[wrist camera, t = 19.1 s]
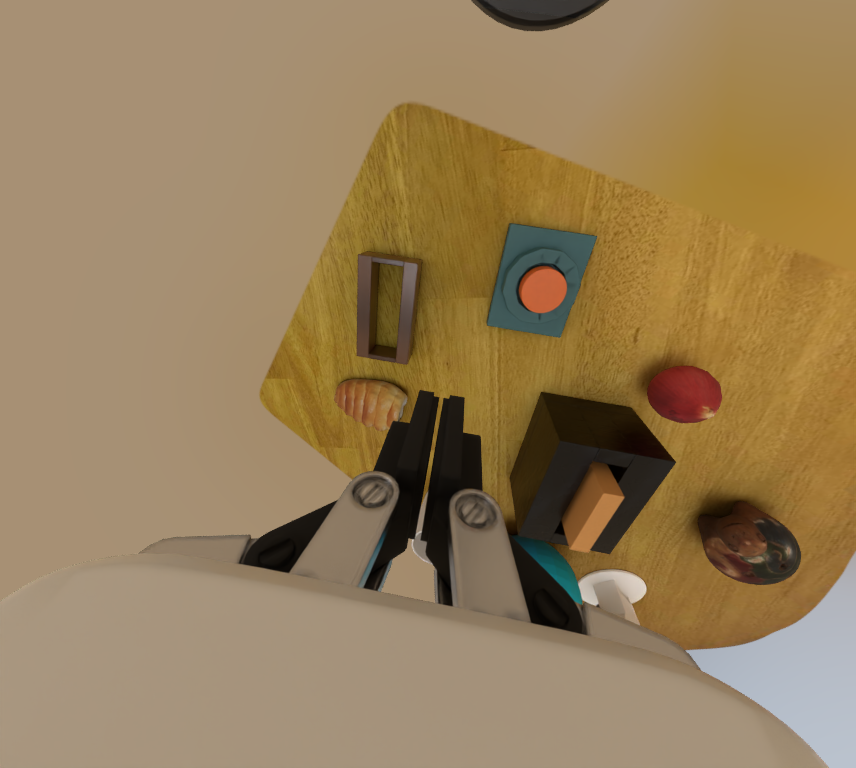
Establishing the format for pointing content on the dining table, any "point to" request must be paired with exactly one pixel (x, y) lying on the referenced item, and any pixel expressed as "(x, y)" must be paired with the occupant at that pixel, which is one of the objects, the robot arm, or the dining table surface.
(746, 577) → the brown mottled ceramic figure
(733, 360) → the dining table surface
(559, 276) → the button
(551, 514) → the toaster
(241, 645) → the robot arm
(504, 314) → the block
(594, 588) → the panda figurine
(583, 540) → the toast
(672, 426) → the dining table surface
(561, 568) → the decorative orb
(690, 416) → the onion
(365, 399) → the pastry
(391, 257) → the brown rectangular frame
